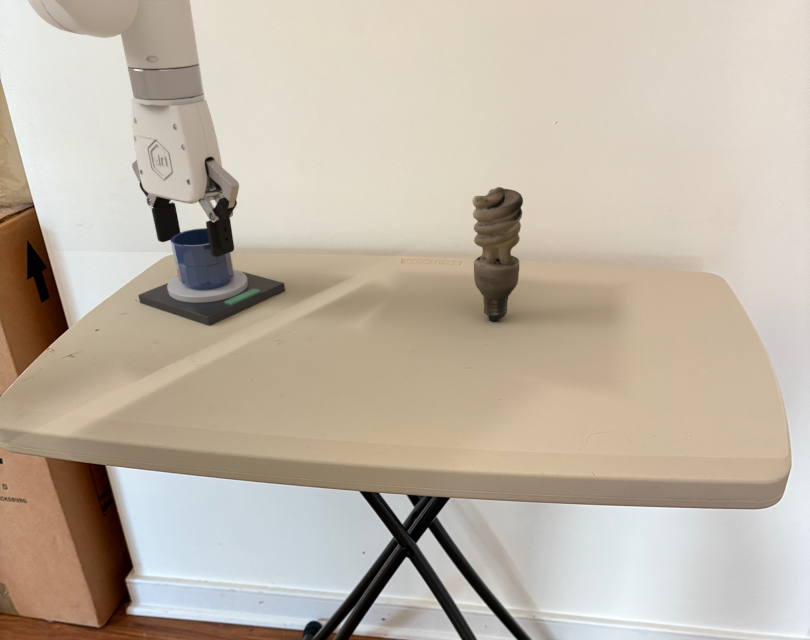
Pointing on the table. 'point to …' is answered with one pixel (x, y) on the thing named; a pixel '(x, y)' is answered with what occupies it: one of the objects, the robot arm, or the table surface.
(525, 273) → the table surface
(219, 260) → the cup
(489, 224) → the light bulb
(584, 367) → the table surface
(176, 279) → the scale
